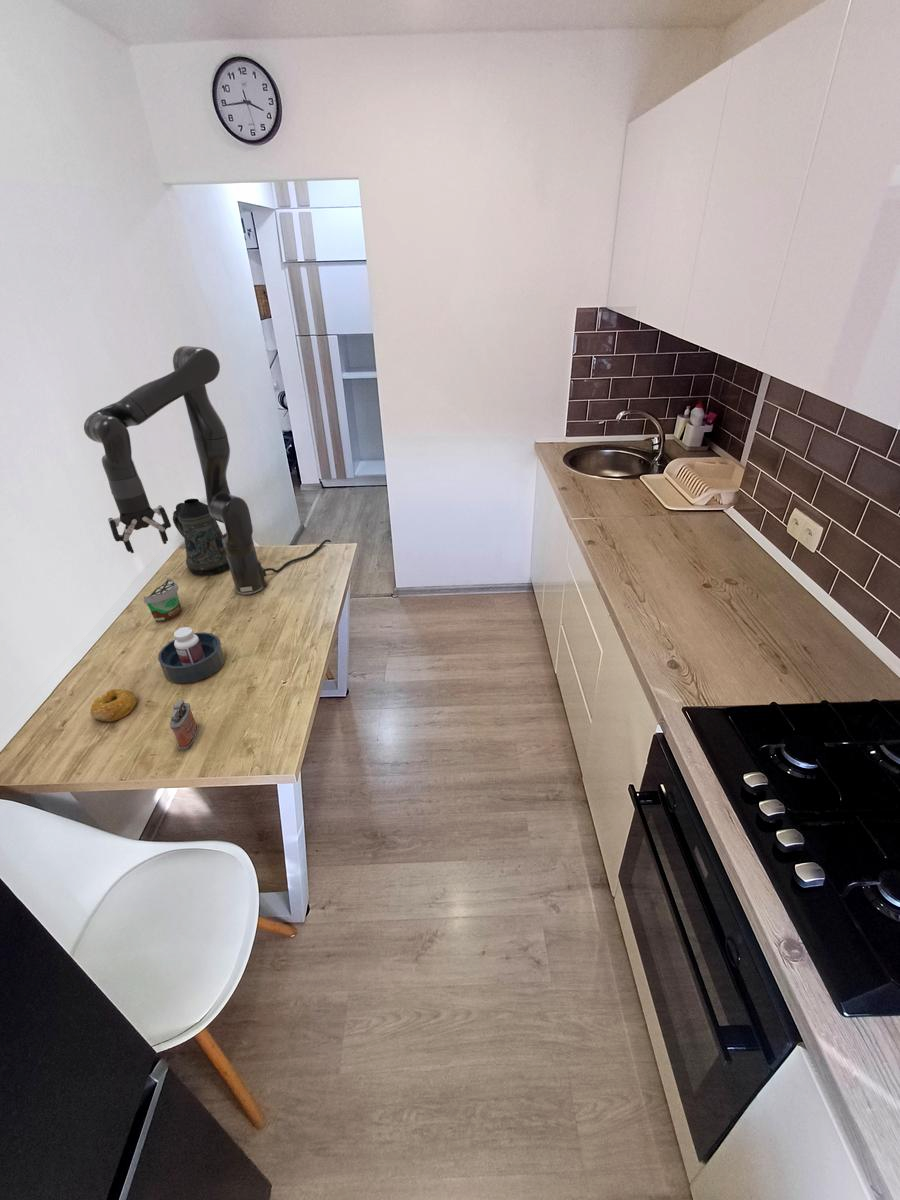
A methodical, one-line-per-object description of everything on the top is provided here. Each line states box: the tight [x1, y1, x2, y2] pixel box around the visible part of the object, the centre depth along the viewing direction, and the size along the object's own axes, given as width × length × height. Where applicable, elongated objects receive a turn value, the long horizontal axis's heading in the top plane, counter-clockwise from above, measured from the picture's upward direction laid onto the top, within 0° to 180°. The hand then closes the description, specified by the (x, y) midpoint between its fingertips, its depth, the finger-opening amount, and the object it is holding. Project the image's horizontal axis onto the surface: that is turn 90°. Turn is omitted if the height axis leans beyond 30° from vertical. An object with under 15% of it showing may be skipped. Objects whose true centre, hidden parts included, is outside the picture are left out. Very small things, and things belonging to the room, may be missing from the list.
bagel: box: [90, 688, 138, 723], centre depth 143 cm, size 10×11×5 cm
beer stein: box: [172, 498, 230, 577], centre depth 202 cm, size 16×19×25 cm
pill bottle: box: [173, 626, 206, 666], centre depth 154 cm, size 6×6×11 cm
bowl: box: [157, 631, 226, 684], centre depth 156 cm, size 16×16×6 cm
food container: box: [143, 577, 182, 623], centre depth 178 cm, size 12×6×10 cm, turn 168°
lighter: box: [169, 698, 200, 752], centre depth 132 cm, size 8×3×10 cm, turn 5°
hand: (148, 547), depth 159 cm, fingers open, 8 cm apart
